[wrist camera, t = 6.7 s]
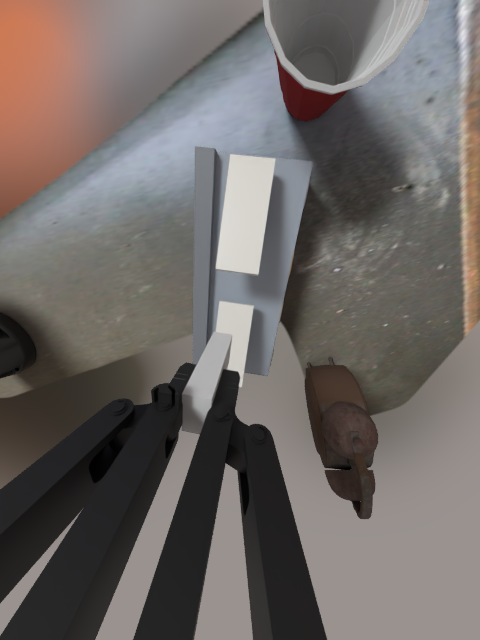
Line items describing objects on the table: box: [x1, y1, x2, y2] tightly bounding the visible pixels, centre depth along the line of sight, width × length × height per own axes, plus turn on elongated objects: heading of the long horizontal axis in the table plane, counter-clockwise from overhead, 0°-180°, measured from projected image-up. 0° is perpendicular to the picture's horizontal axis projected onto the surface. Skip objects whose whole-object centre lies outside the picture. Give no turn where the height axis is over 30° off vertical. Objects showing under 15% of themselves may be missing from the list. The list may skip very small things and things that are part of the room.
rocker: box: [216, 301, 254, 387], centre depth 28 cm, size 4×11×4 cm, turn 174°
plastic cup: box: [263, 0, 430, 121], centre depth 17 cm, size 11×11×12 cm
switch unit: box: [193, 147, 313, 376], centre depth 29 cm, size 12×28×7 cm, turn 174°
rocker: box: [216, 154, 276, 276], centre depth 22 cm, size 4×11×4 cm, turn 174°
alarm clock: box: [305, 357, 378, 519], centre depth 30 cm, size 15×7×20 cm, turn 12°
